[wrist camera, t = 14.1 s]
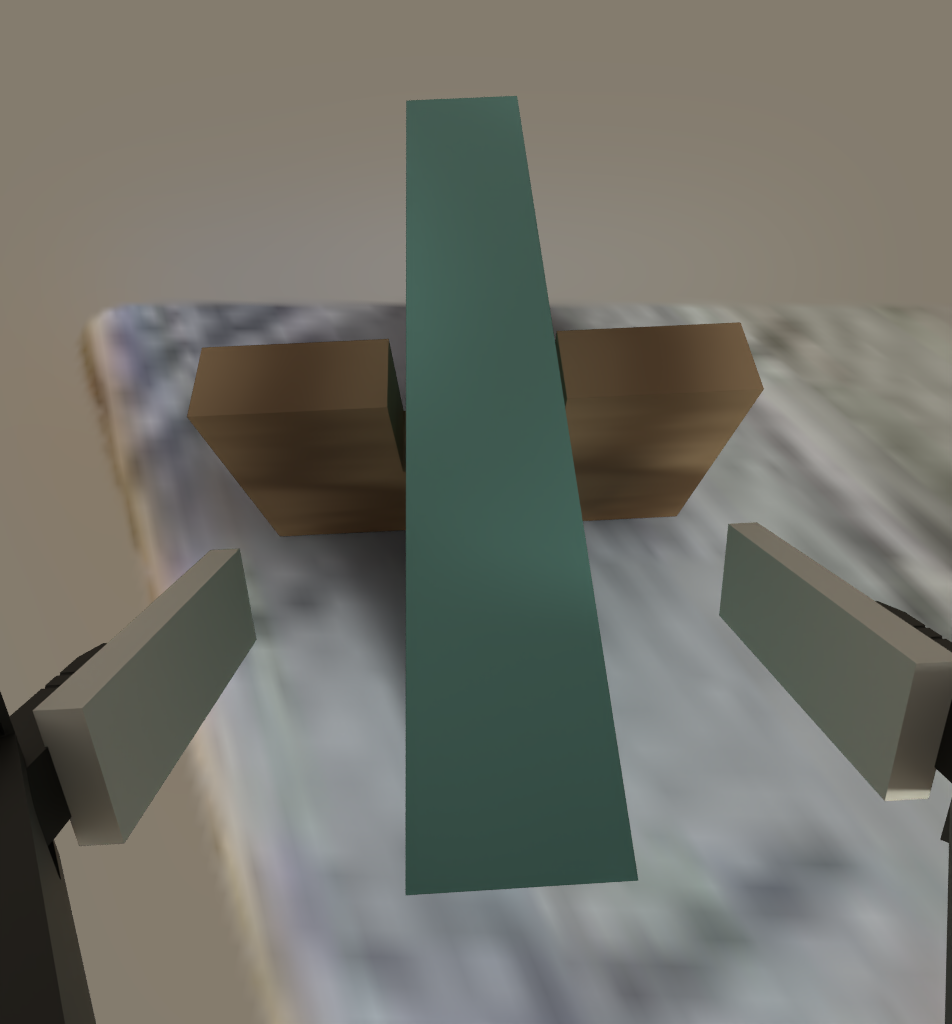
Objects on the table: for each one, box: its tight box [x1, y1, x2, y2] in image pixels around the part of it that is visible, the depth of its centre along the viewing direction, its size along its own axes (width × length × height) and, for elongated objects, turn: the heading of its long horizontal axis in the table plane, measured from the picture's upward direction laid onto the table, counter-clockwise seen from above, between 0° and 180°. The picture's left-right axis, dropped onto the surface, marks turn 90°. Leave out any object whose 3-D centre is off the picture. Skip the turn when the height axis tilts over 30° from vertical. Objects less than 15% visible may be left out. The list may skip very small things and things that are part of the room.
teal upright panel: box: [406, 96, 638, 895], centre depth 17 cm, size 18×3×12 cm, turn 3°
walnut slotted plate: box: [187, 323, 764, 536], centre depth 20 cm, size 16×2×8 cm, turn 93°
